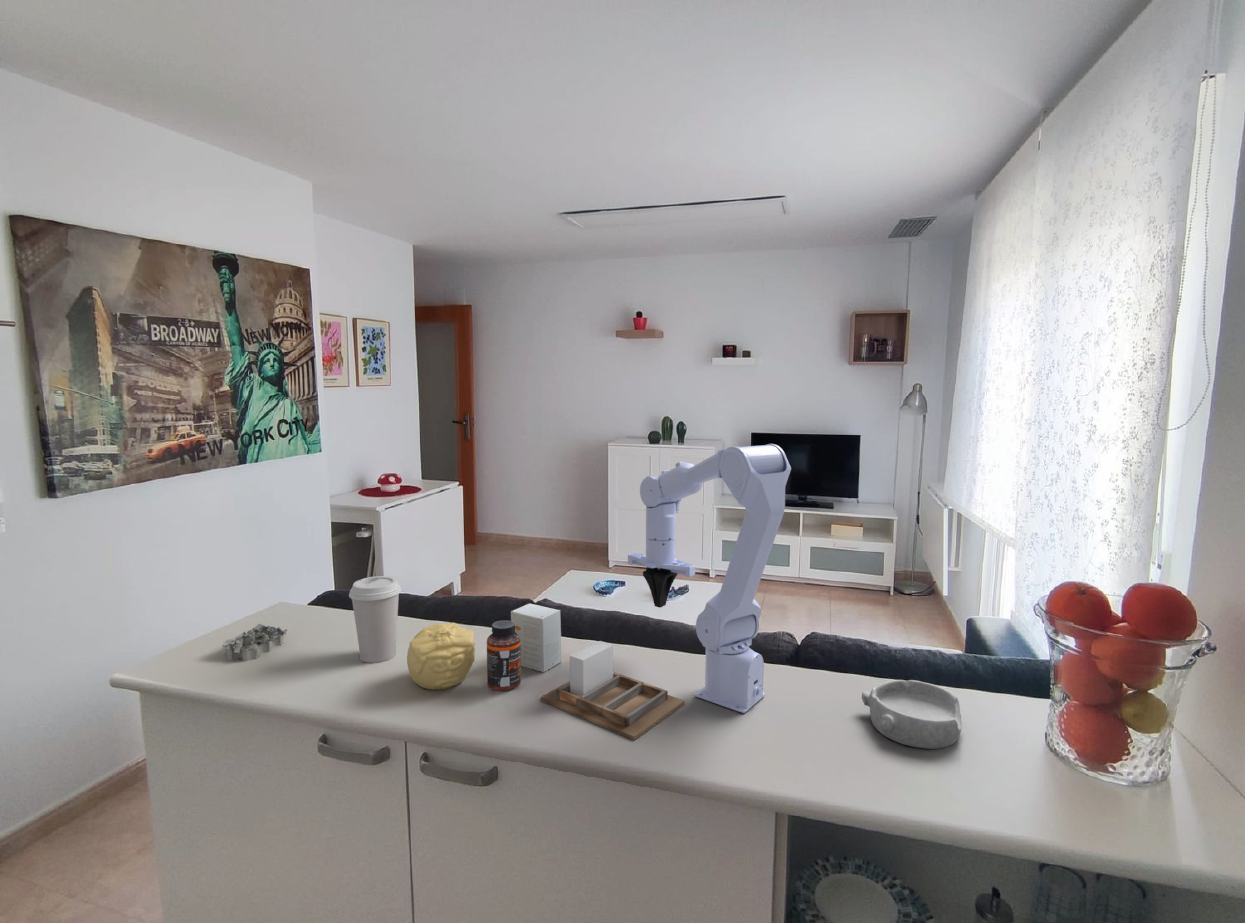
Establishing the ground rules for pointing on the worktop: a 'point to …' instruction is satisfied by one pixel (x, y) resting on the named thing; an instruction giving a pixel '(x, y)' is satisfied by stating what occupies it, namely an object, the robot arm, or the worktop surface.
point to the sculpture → (441, 656)
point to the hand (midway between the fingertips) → (660, 605)
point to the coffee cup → (376, 617)
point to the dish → (915, 713)
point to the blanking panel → (591, 668)
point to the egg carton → (254, 642)
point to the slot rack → (618, 705)
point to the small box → (538, 636)
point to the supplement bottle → (503, 657)
